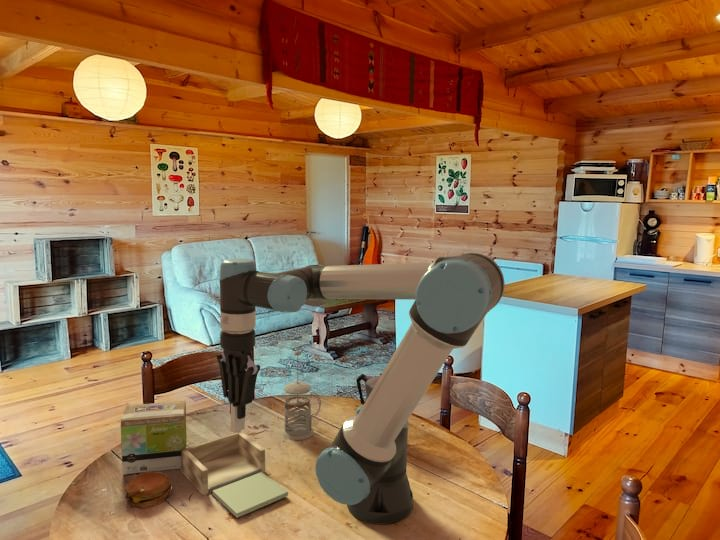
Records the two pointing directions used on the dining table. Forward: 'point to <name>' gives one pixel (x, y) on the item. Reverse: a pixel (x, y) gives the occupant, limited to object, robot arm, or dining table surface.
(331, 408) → the dining table surface
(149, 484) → the burger
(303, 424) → the french press
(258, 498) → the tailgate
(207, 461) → the crate
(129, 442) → the tea box
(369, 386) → the moka pot
